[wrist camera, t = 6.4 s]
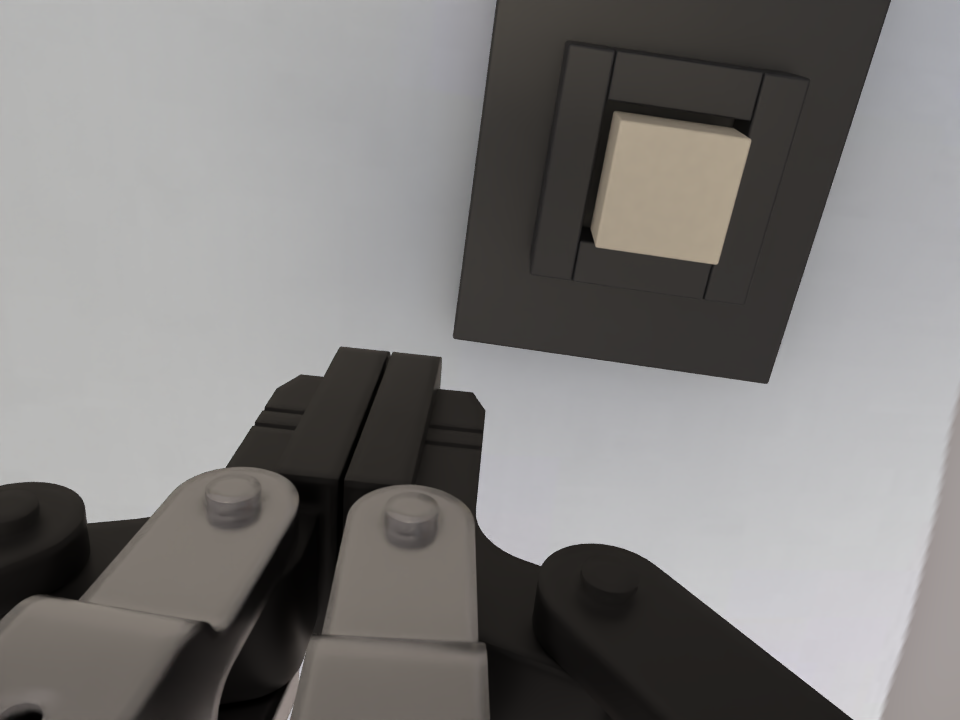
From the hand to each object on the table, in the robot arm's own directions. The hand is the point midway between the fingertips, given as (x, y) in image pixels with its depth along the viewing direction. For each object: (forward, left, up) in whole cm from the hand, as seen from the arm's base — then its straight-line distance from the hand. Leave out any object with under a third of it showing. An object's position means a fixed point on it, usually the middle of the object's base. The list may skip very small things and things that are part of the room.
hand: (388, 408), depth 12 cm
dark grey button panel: (-2, +5, -14) cm, 15 cm away
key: (-2, +5, -11) cm, 13 cm away
